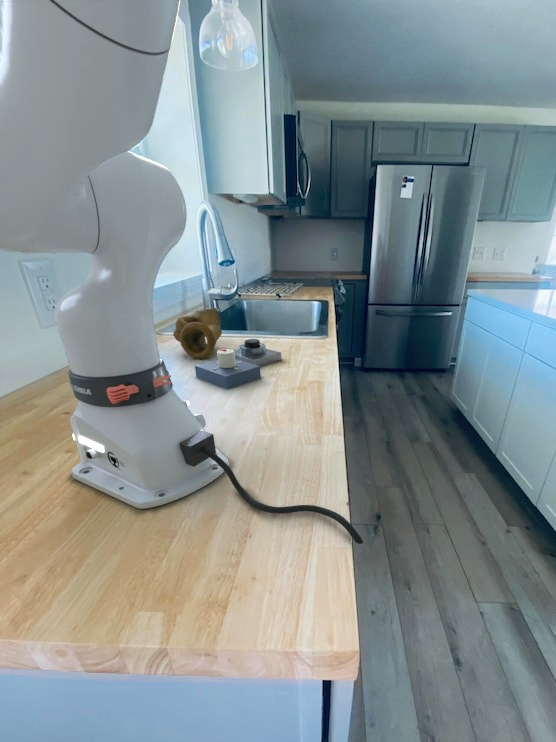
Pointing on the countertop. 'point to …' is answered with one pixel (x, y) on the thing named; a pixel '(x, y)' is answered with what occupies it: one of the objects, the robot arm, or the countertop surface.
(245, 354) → the housing
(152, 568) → the countertop surface
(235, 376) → the panel
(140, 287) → the robot arm
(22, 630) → the countertop surface
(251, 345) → the button
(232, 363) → the knob
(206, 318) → the brown looped sculpture
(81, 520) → the countertop surface
